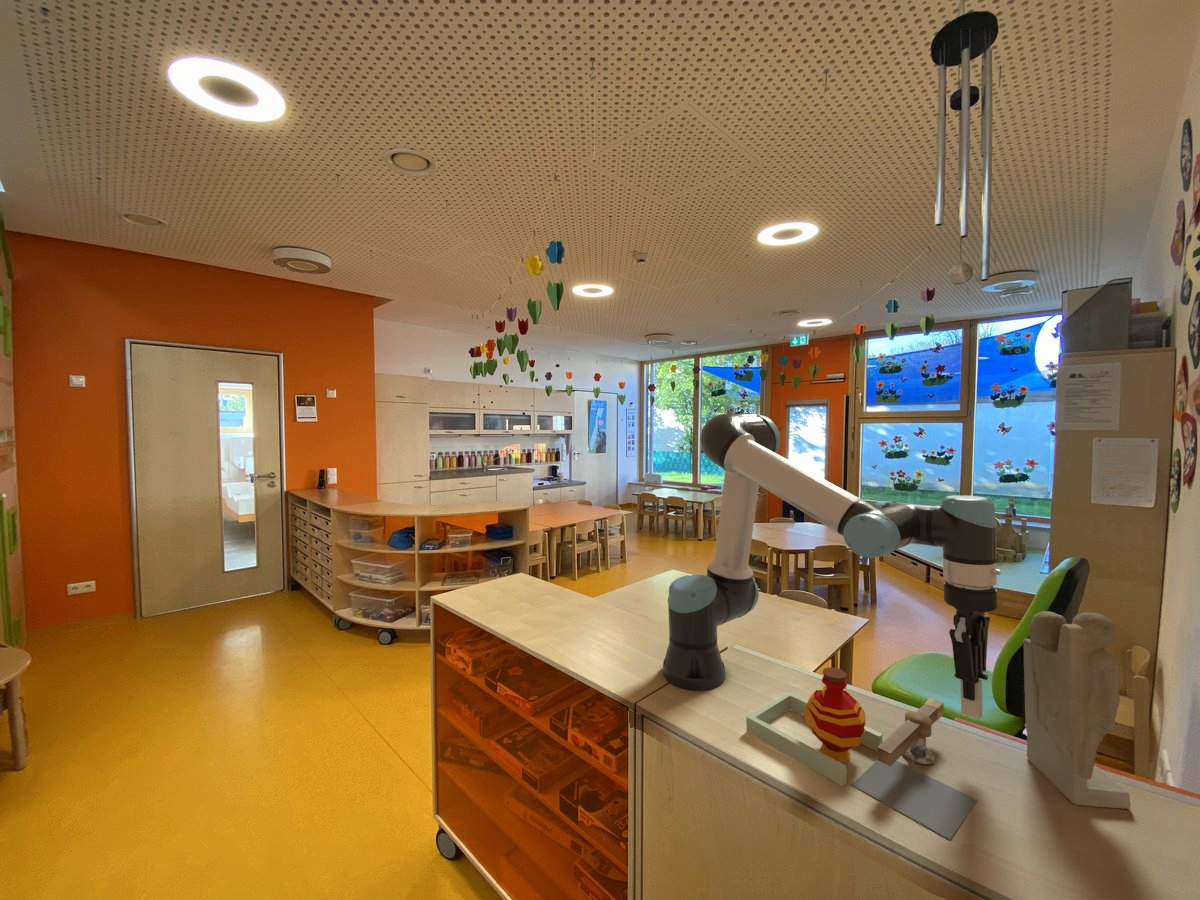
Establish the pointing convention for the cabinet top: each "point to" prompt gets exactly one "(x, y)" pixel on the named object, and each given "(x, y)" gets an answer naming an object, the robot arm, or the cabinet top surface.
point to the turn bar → (910, 731)
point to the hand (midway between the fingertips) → (971, 714)
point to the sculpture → (1072, 704)
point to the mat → (917, 796)
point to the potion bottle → (835, 716)
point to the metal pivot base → (920, 753)
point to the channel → (794, 747)
